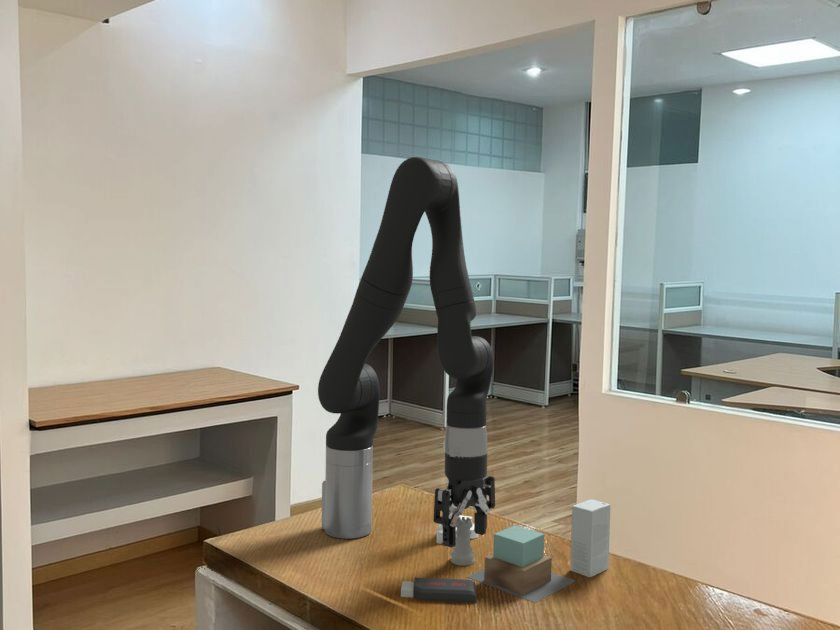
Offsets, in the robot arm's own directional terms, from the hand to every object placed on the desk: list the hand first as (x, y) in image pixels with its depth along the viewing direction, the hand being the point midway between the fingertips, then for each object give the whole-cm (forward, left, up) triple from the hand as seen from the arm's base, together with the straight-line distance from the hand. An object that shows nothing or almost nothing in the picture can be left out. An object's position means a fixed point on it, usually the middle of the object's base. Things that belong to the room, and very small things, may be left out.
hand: (465, 539), depth 138 cm
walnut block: (+12, 0, -4) cm, 12 cm away
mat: (+12, +1, -4) cm, 12 cm away
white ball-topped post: (-9, +10, -5) cm, 15 cm away
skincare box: (+18, +13, -5) cm, 22 cm away
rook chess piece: (0, 0, -5) cm, 5 cm away
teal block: (+12, 0, 0) cm, 12 cm away
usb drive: (+6, -13, -5) cm, 15 cm away
